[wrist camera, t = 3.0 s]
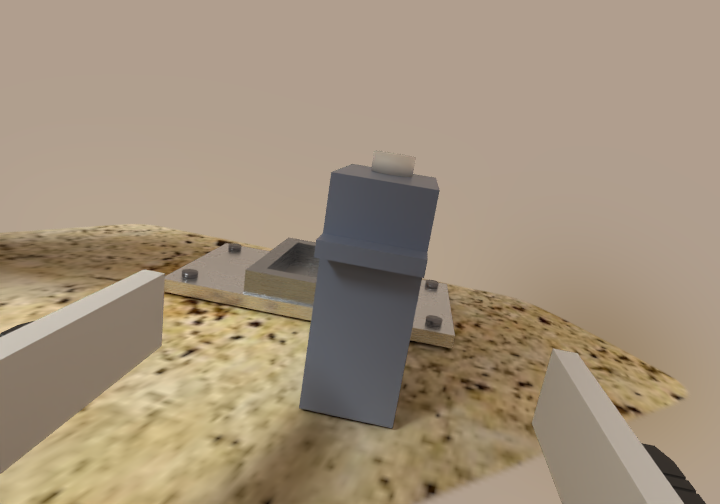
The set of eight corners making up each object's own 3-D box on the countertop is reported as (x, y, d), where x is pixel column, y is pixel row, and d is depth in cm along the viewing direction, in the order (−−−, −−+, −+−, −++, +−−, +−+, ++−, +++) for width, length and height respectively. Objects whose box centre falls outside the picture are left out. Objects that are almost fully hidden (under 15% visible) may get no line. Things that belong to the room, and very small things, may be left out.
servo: (291, 424, 22) (328, 150, 19) (328, 343, 31) (358, 145, 28) (390, 446, 22) (445, 169, 19) (400, 357, 31) (438, 158, 28)
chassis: (160, 290, 35) (162, 255, 35) (225, 252, 47) (227, 225, 46) (452, 348, 33) (460, 312, 33) (444, 293, 45) (450, 266, 44)
